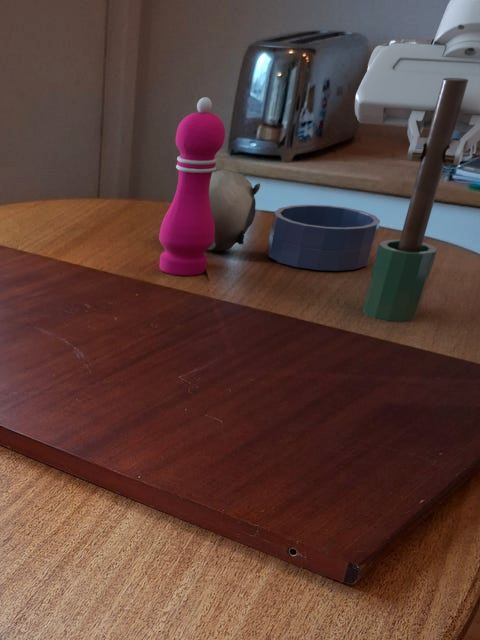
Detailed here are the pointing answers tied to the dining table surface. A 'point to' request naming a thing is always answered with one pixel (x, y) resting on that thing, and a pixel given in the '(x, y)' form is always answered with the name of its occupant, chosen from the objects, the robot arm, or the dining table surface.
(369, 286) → the holder
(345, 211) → the bowl
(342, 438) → the dining table surface
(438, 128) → the stick
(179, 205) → the pepper mill
